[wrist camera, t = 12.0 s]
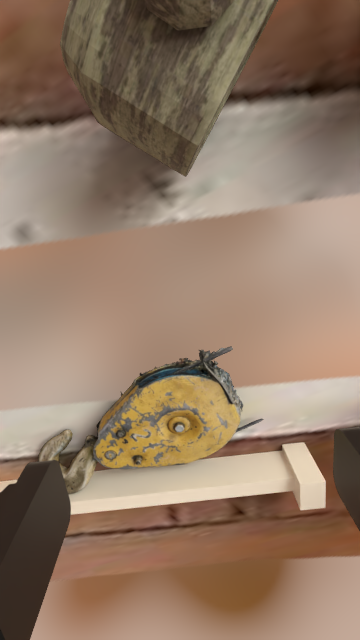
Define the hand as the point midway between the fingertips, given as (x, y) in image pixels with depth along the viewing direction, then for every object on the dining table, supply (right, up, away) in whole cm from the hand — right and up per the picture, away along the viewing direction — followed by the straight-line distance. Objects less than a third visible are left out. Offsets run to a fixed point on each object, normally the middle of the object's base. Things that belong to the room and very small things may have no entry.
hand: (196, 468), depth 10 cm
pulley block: (-6, -9, +35) cm, 37 cm away
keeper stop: (-7, -17, +37) cm, 42 cm away
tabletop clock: (-1, +27, +23) cm, 35 cm away
